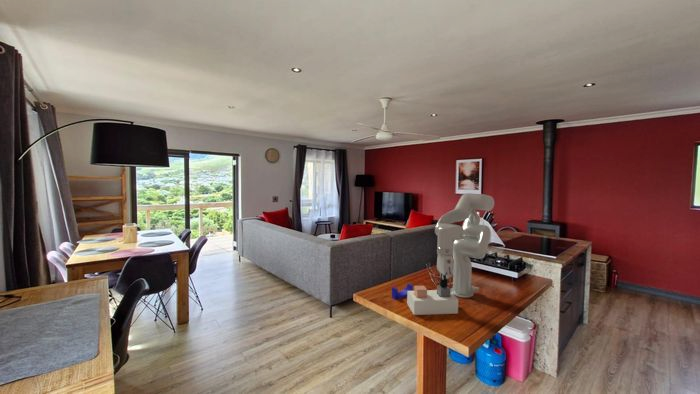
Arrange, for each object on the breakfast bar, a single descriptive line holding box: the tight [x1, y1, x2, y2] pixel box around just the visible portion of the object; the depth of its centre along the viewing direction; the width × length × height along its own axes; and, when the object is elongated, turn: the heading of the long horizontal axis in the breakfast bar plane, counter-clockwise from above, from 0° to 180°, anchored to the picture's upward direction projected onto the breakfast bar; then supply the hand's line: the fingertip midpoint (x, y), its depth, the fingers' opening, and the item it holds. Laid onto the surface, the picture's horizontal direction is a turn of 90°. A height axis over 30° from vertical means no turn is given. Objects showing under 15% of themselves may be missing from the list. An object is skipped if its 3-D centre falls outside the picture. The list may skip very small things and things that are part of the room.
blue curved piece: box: [391, 283, 414, 300], centre depth 160 cm, size 12×4×6 cm, turn 118°
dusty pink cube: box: [413, 285, 428, 298], centre depth 144 cm, size 5×5×6 cm
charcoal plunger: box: [436, 284, 451, 297], centre depth 145 cm, size 5×5×6 cm
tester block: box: [406, 289, 459, 316], centre depth 145 cm, size 22×12×7 cm, turn 95°
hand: (443, 286), depth 145 cm, fingers closed
